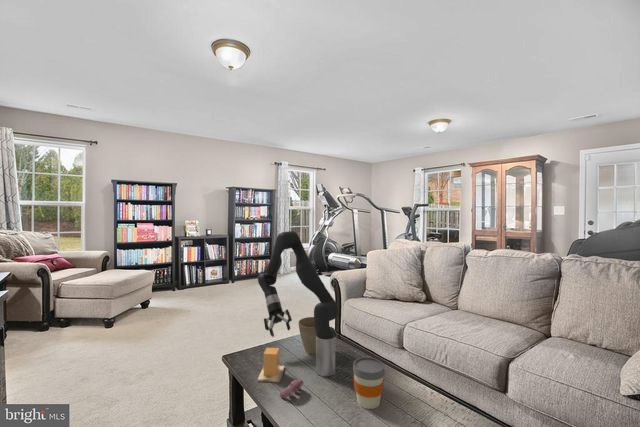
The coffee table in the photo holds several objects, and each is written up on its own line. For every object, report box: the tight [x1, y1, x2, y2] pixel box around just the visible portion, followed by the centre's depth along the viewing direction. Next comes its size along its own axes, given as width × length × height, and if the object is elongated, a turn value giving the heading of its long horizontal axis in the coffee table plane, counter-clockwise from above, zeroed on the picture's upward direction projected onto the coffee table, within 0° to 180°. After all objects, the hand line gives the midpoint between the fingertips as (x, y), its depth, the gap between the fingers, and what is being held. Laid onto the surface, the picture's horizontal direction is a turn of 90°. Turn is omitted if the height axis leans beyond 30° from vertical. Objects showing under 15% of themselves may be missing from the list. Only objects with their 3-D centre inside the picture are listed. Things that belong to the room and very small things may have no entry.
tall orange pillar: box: [263, 347, 280, 376], centre depth 140 cm, size 6×6×10 cm
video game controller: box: [279, 378, 304, 399], centre depth 125 cm, size 10×5×7 cm, turn 144°
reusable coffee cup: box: [352, 356, 386, 410], centre depth 121 cm, size 13×13×15 cm
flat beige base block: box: [257, 365, 285, 383], centre depth 140 cm, size 10×12×6 cm
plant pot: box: [297, 316, 316, 355], centre depth 163 cm, size 15×15×16 cm
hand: (281, 333), depth 156 cm, fingers open, 8 cm apart
